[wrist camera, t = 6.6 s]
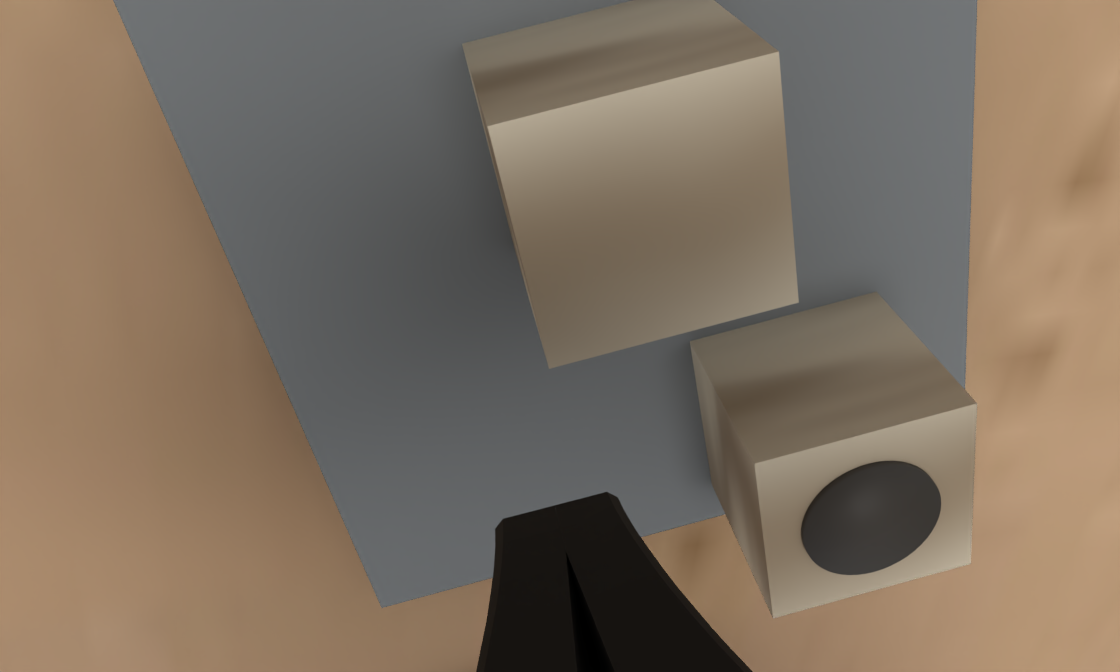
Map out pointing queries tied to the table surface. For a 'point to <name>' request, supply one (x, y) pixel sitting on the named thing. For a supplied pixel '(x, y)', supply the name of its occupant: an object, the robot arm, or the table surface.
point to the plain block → (639, 171)
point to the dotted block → (837, 451)
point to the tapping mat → (490, 259)
